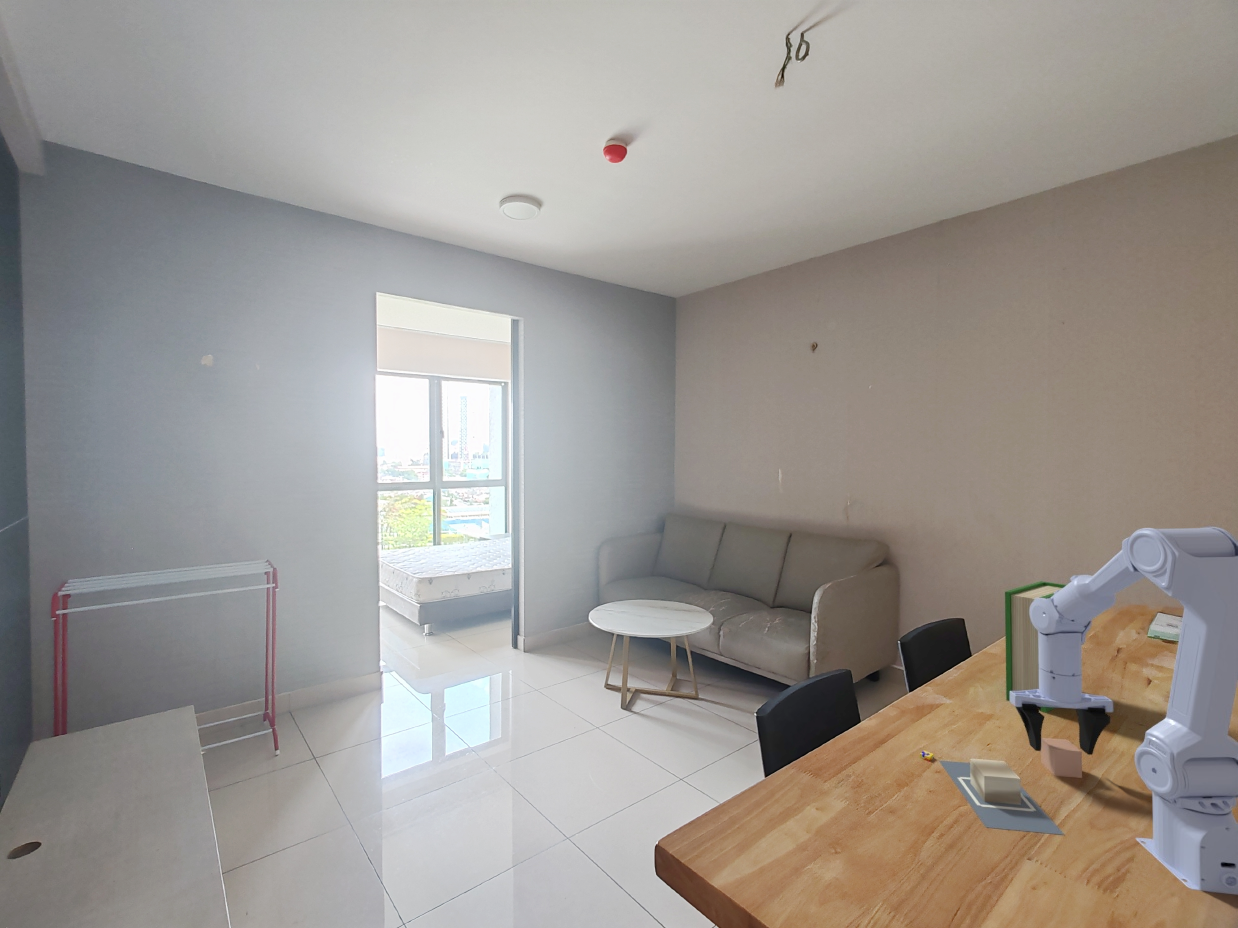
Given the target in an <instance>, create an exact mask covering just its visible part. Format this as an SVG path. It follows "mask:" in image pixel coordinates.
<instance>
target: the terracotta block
mask: <svg viewBox="0 0 1238 928" xmlns="http://www.w3.org/2000/svg"><path fill="white" fill-rule="evenodd" d="M1082 752H1083V750H1081V749H1080V748H1079V747H1077V746H1076V745H1074V744H1073V743H1072V742H1071V741H1069V740H1068V739H1065V738H1064V739H1063V738H1050V737H1049V738H1048V737H1041V751H1040V757H1041V759H1040V762H1041V764H1042V765H1043V766H1044V767H1045V768H1046V769H1047V770H1048V771H1049V772H1050V773H1051V774H1052V775H1053V776H1054V777H1064V778H1065V777H1067V778H1079V779H1083V759H1082V758H1083V757H1082V755H1083V754H1082Z"/></svg>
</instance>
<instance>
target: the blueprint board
mask: <svg viewBox="0 0 1238 928" xmlns="http://www.w3.org/2000/svg"><path fill="white" fill-rule="evenodd" d="M938 762H939V763H940V765H941V766H942V767H943V769H944V770H945V772H946V773H947V775H948V776H949V777H950V778H951V780H952V781H953V784H955V786H956V787H957V788H958V790H959V791H960V793H961V794H962V796H963V797H964V799H965V800H966V801H967V803H968V804H969V805H970V806H969V807H971V808H972V810H973V812H974V813H975V814H976V815H977V817H978V818H979V820H980V821H981V823H982V824H983V825H984V827H985V828H988V829H998V830H1005V831H1006V830H1008V831H1016V832H1017V831H1018V832H1027V833H1029V832H1030V833H1040V834H1048V835H1058V836H1065V835H1066V834H1065V833H1064V832H1063V831H1062V830H1061V829H1060V828H1059V826H1058V825H1057V824H1056V823H1055V822H1054V821H1053V820H1052V819H1051V818H1050V817H1049V815H1048V814H1047V813H1046V812H1045V811H1044V810H1043V809H1042V808H1041V806H1040V805H1039V804H1038V803H1037V802H1036V801H1035V800H1034V799H1033V798H1032V797H1031V795H1030V794H1029V793H1028V792H1027V791H1026V790H1025V789H1024V788H1023V787H1022V786H1021V805H1018V804H1007V803H995V802H985V801H984V800H983V799H982V797H981V796H980V795H979V793H978V792H977V791H976V790H975V788H974V787H973V786H972V784H971V780H970V762H962V761H953V760H952V761H950V760H949V761H948V760H938Z"/></svg>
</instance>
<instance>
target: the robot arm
mask: <svg viewBox="0 0 1238 928" xmlns="http://www.w3.org/2000/svg"><path fill="white" fill-rule="evenodd" d="M1121 541H1122V543H1121V550H1120V551H1118V553H1117V554H1115V555H1114V556H1113V557H1112V558H1111V559H1110V560H1108V562H1107V563H1105V564H1104V565H1103V566H1102V567H1101V568H1100V569H1099V570H1098V571H1096V572H1095V573H1094V574H1093V575H1090V574H1077V575H1075V574H1074V575H1072V576H1071V577H1070V578H1069V581H1071V582H1068V583H1067V584H1065V585H1066V586H1065V587H1064V588H1062V589H1061V590H1057V591H1055V592H1054V595H1053V596H1052V597H1051V598H1047V599H1045V598H1036V599H1034V601H1033V602H1032V603H1031V605H1030V609H1029V615H1030V619H1031V622H1032V624H1033V626H1034V627H1035V628H1036V629H1037V630H1038V647H1039V689H1034V690H1024V691H1010V701H1009V702H1010V704H1012V705H1013V706H1014V707H1015V709H1016V711H1017V713H1018V714H1019V716H1020V718H1021V721H1022V723H1023V726H1024V728H1025V732H1026V734H1027V737H1028V743H1029V746H1031V747H1032V749H1034V751H1037V752H1041V738H1042V729H1043V723H1044V720H1045V715H1043V714H1042V713H1041V711H1040V709H1039V708H1038V707H1039V706H1041V707H1056V708H1061V709H1062V708H1063V709H1074V710H1076V715H1077V720H1078V728H1079V729H1078V732H1079V733H1078V737H1079V738H1078V740H1079V741H1078V743H1079V749H1080V750H1081V751H1082V752H1084V753H1085V754H1087V755H1090V756H1092V755H1093V753H1094V751H1095V747H1096V744H1097V742H1098V739H1099V737H1100V736H1101V734H1102V733H1103V731H1105V729H1106V728H1107V727H1108V725H1109V724H1110V723H1111V715H1108V714H1107V713H1114V701H1113V700H1112V699H1110V698H1109V697H1107V696H1105V695H1099V694H1098V695H1096V694H1089V693H1083V682H1082V681H1083V680H1082V679H1083V675H1082V673H1083V668H1082V667H1083V666H1082V661H1083V660H1082V659H1083V658H1082V655H1083V653H1082V646H1083V645H1084V644H1085V643H1086V635H1087V633H1088V632H1089V631H1090V629H1091V627H1092V621H1093V620H1094V619H1096V618H1097V617H1099V616H1100V615H1101V614H1103V613H1104V612H1106V611H1108V610H1109V609H1111V608H1112V607H1113V606H1115V604H1116V603H1117V602H1116V601H1117V596H1116V594H1117V593H1119V592H1121V591H1123V590H1125V589H1126V588H1129V586H1130V587H1131V586H1132V585H1133V584H1136V583H1137V582H1139V581H1140V580H1143V579H1144V578H1147V579H1148V580H1150V581H1151V582H1152V583H1153V585H1155V586H1156V587H1158V588H1159V589H1160V590H1161V591H1162V592H1164V593H1165V594H1166V595H1168V596H1169V597H1170V598H1174V599H1175V600H1178V602H1179V603H1180V604H1181V605H1182V607H1183V612H1182V613H1183V614H1182V619H1181V624H1180V625H1181V626H1180V627H1181V628H1180V631H1179V639H1178V643H1177V650H1176V657H1175V662H1174V667H1173V668H1174V669H1173V675H1172V680H1171V685H1170V692H1169V699H1168V704H1167V708H1166V710H1167V711H1166V716H1165V718H1163V720H1161V721H1159V722H1157V723H1156V724H1154V725H1153V726H1152V727H1151V728H1149V729H1148V730H1146V731H1145V733H1144V734H1145V735H1144V740H1143V741H1142V743H1141V744H1139V746H1138V747H1136V750H1135V752H1134V764H1135V769H1136V771H1137V774H1138V775H1139V777H1140V780H1142V782H1143V783H1144V784H1145V785H1146V788H1147V789H1148V790H1149V791H1151V792H1152V838H1145V837H1135V840H1136V841H1137V842H1138V843H1140V845H1141V846H1143V848H1144V849H1146V851H1148V852H1149V853H1150V854H1151V855H1152V856H1153V857H1154V858H1156V859H1157V861H1159V862H1160V863H1161V864H1162V865H1163V866H1164V867H1165V868H1166V869H1167V870H1168V871H1169V872H1170V873H1171V874H1172V875H1174V876H1175V877H1176V878H1177V879H1178V880H1179V881H1180V882H1181V883H1183V884H1184V886H1186V887H1187V888H1189V889H1191V890H1193V891H1201V892H1208V893H1209V892H1210V893H1219V894H1229V895H1237V896H1238V821H1237V820H1236V818H1235V817H1234V814H1233V810H1232V809H1233V808H1237V807H1238V741H1237V740H1235V738H1233V737H1232V736H1230V735H1229V729H1230V724H1231V719H1232V714H1233V707H1234V702H1235V697H1236V692H1237V686H1238V539H1237V538H1236V537H1235V536H1234V535H1233V534H1232V533H1230V531H1227V530H1226V529H1225V528H1221V527H1218V526H1217V527H1216V526H1205V527H1193V528H1192V527H1190V528H1189V527H1188V528H1185V527H1184V528H1153V527H1143V528H1139V529H1137V530H1135V531H1134V532H1133V533H1132V534H1131V535H1130V536H1129V537H1127V538H1124V539H1123V540H1121ZM1041 707H1040V708H1041ZM1184 880H1185V881H1184Z"/></svg>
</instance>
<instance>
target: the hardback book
mask: <svg viewBox="0 0 1238 928" xmlns="http://www.w3.org/2000/svg"><path fill="white" fill-rule="evenodd" d="M1066 585H1067V584H1063V583H1055V582H1049V581H1044V580H1041V581H1040V580H1039V581H1037V582H1035V583H1030V584H1027V585H1023V586H1020V587H1015V588H1012V589H1009V590H1006V591H1004V614H1005V615H1004V620H1005V627H1004V628H1005V633H1004V634H1005V683H1006V685H1005V689H1006V690H1005V693H1006V699H1005V700H1006V701H1007V702H1010V691H1024V690H1034V689H1039V647H1038V630H1037V629H1036V628H1035V627H1034V626H1033V624H1032V622H1031V619H1030V615H1029V609H1030V605H1031V603H1032V602H1033V601H1034V599H1036V598H1045V599H1047V598H1051V597H1052V596H1053V595H1054V592H1055V591H1057V590H1061V589H1062V588H1064V587H1065V586H1066ZM1038 707H1039V708H1040V713H1041V712H1042V713H1043V714H1044V713H1045V714H1047V713H1049V712H1050V710H1051V711H1052V710H1054V709H1056V708H1057V707H1041V706H1038Z"/></svg>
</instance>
